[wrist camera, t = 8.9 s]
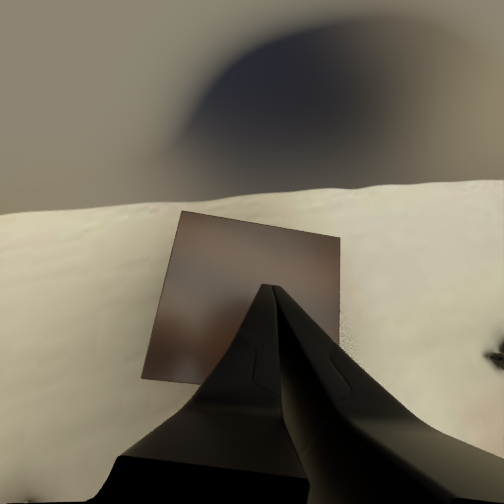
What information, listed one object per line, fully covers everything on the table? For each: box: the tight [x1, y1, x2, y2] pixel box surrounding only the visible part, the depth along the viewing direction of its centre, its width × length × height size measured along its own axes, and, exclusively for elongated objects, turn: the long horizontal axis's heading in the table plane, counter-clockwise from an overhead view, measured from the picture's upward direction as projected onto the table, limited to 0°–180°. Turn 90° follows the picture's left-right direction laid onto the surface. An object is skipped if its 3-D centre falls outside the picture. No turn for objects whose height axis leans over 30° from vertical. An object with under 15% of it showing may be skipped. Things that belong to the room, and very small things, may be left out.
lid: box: [141, 211, 340, 385], centre depth 13 cm, size 10×11×1 cm
